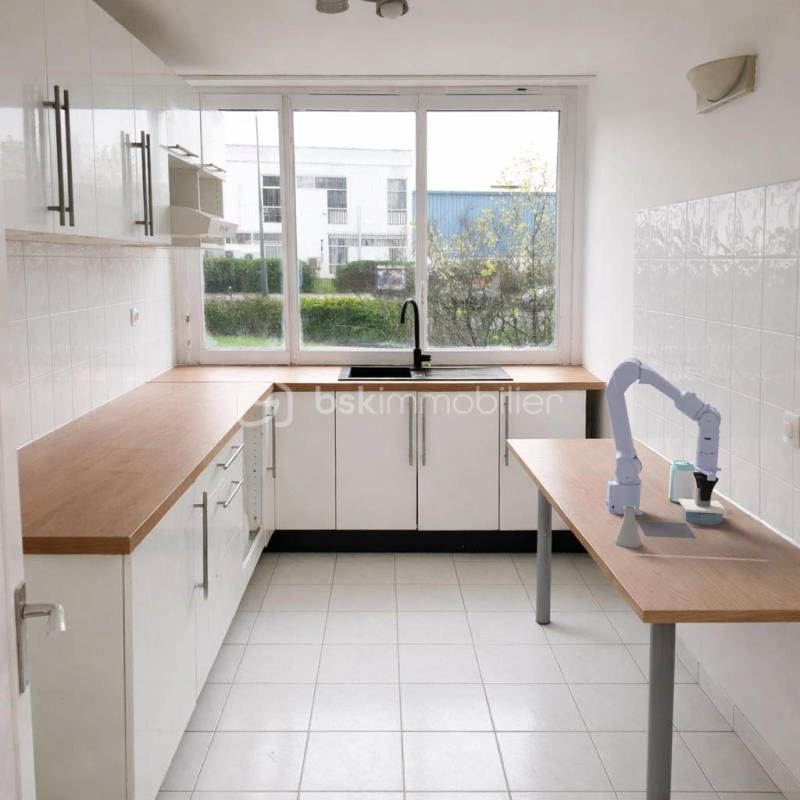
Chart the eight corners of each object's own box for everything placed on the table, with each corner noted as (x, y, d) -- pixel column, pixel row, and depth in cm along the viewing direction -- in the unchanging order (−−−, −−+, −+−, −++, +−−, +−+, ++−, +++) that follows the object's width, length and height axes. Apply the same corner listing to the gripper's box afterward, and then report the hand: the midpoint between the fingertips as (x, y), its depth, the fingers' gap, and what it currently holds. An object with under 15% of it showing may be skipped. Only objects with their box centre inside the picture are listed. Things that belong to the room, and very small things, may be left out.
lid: (686, 511, 245) (688, 493, 244) (678, 500, 255) (679, 483, 255) (727, 514, 244) (729, 496, 243) (717, 502, 254) (719, 485, 253)
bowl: (687, 525, 246) (688, 513, 245) (680, 514, 255) (681, 503, 255) (725, 527, 245) (726, 514, 244) (716, 516, 255) (717, 504, 254)
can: (683, 497, 274) (686, 459, 272) (697, 503, 268) (700, 464, 265) (663, 498, 272) (666, 460, 270) (677, 505, 265) (680, 465, 263)
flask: (640, 551, 224) (643, 512, 223) (611, 547, 227) (613, 509, 225) (643, 542, 231) (645, 505, 229) (614, 539, 233) (617, 502, 232)
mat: (645, 537, 235) (645, 535, 235) (637, 522, 248) (637, 521, 247) (696, 539, 233) (696, 538, 233) (685, 524, 246) (685, 523, 246)
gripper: (729, 458, 239) (725, 507, 242) (715, 446, 253) (712, 492, 256) (701, 457, 240) (698, 506, 242) (690, 445, 254) (687, 491, 256)
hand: (703, 499), depth 249 cm, fingers closed on lid, 2 cm apart
